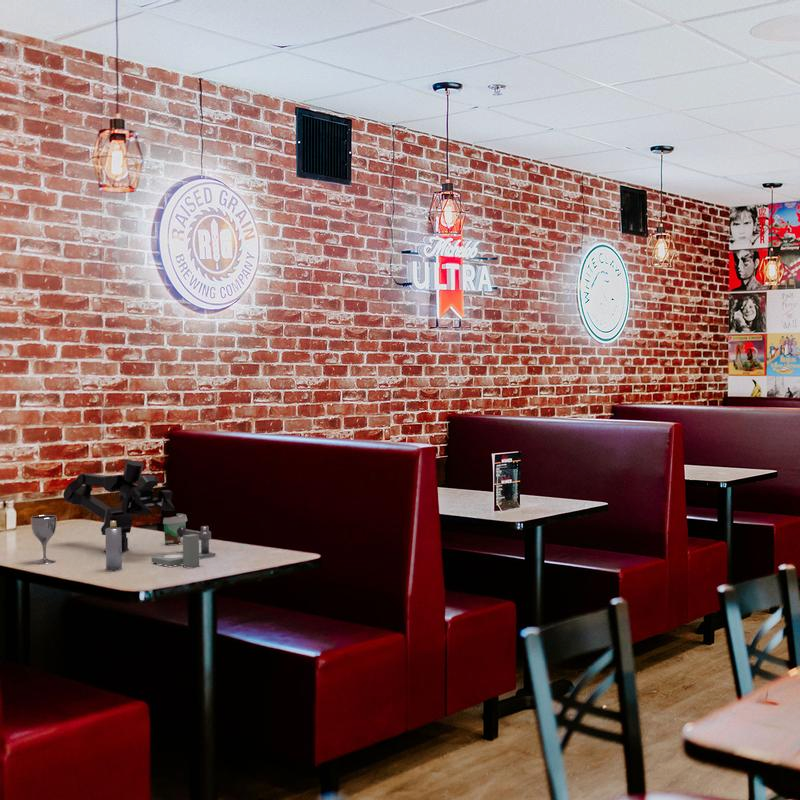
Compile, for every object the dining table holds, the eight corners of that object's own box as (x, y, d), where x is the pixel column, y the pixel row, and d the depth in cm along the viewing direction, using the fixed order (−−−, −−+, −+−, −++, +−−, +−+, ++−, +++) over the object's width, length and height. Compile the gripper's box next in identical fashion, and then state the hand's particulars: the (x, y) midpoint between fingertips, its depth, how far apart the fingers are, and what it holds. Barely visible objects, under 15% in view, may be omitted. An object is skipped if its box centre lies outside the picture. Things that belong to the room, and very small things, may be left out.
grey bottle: (103, 570, 312) (102, 521, 312) (110, 567, 317) (110, 519, 317) (117, 571, 311) (116, 522, 311) (124, 568, 316) (123, 519, 316)
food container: (179, 546, 357) (178, 518, 357) (163, 545, 358) (162, 517, 358) (193, 540, 369) (192, 513, 369) (177, 540, 370) (177, 513, 370)
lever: (174, 548, 344) (173, 523, 344) (184, 547, 347) (183, 522, 347) (203, 554, 333) (203, 527, 333) (213, 552, 336) (213, 526, 336)
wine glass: (62, 560, 331) (61, 515, 331) (46, 564, 324) (45, 518, 323) (42, 559, 334) (41, 514, 333) (26, 563, 326) (25, 517, 326)
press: (151, 563, 324) (151, 532, 324) (205, 554, 340) (205, 525, 340) (180, 569, 313) (180, 537, 313) (235, 559, 329) (234, 529, 329)
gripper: (115, 473, 331) (144, 491, 322) (161, 469, 346) (189, 485, 337) (110, 505, 333) (138, 523, 324) (155, 499, 348) (183, 516, 339)
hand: (163, 511), depth 331 cm, fingers open, 9 cm apart
